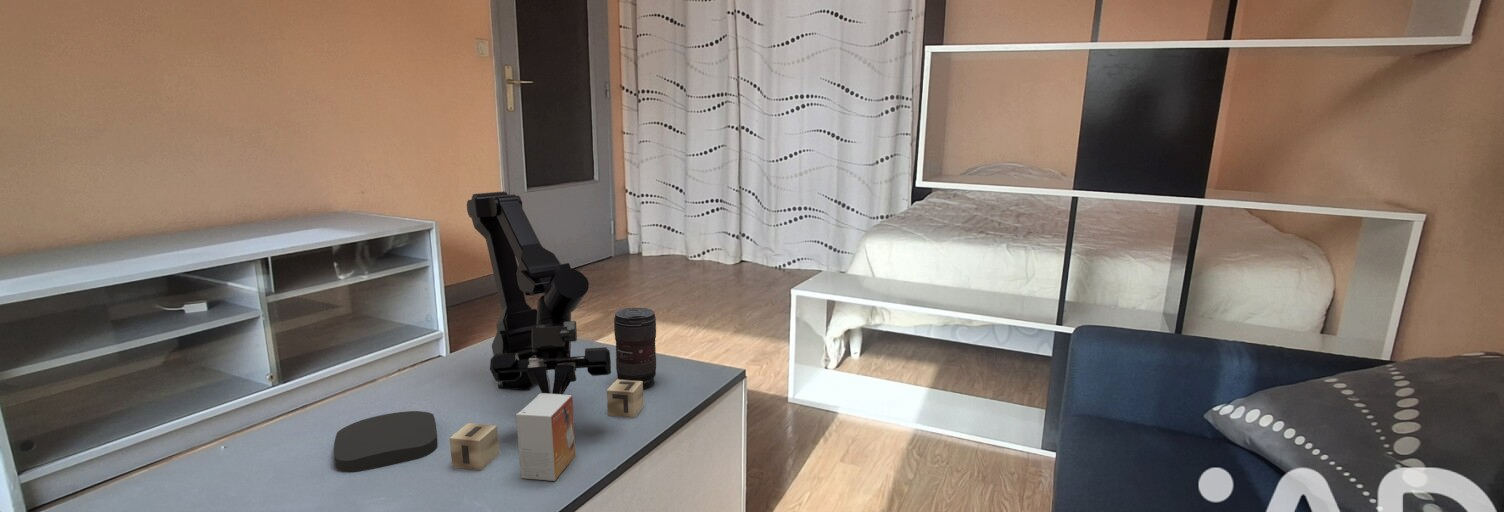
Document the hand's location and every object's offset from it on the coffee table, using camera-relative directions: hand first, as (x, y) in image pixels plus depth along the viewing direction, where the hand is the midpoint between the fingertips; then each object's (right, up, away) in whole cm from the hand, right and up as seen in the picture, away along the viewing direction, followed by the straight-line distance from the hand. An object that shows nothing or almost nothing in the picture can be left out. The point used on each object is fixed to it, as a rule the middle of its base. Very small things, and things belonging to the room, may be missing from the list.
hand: (550, 414), depth 108 cm
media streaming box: (-28, -6, +4) cm, 29 cm away
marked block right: (+9, -3, +16) cm, 19 cm away
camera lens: (+9, -1, +28) cm, 30 cm away
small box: (+1, -8, -3) cm, 8 cm away
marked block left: (-11, -7, -1) cm, 14 cm away
